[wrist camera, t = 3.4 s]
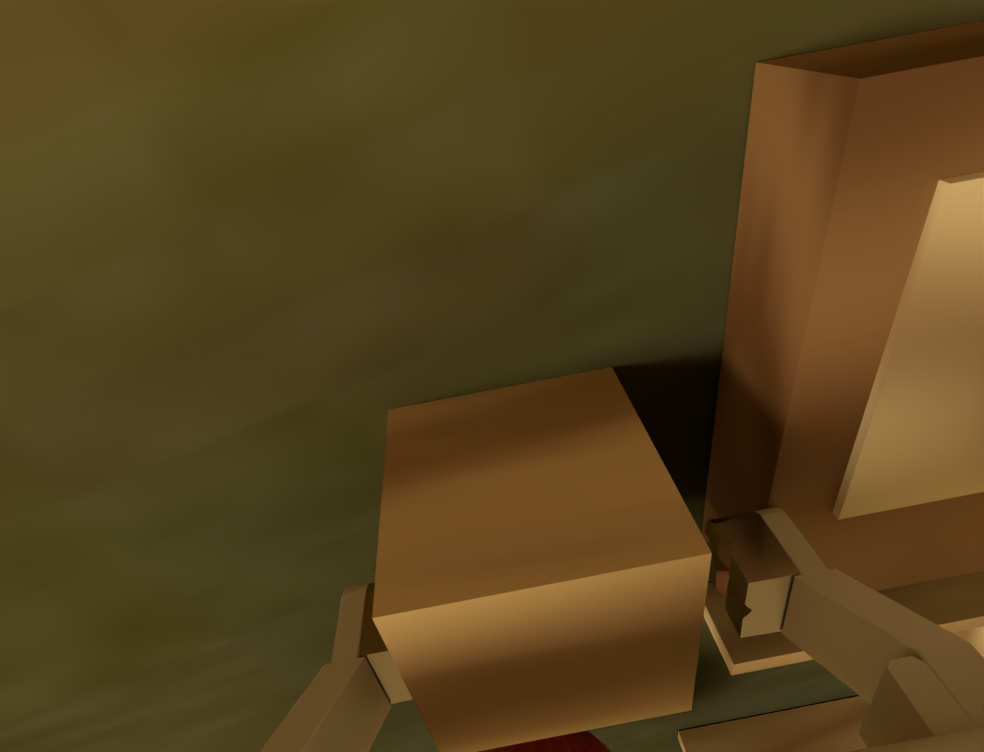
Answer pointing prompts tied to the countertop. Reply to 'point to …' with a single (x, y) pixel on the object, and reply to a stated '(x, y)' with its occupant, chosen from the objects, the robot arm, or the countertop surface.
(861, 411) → the wooden tray
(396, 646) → the oak block
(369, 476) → the countertop surface
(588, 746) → the onion
